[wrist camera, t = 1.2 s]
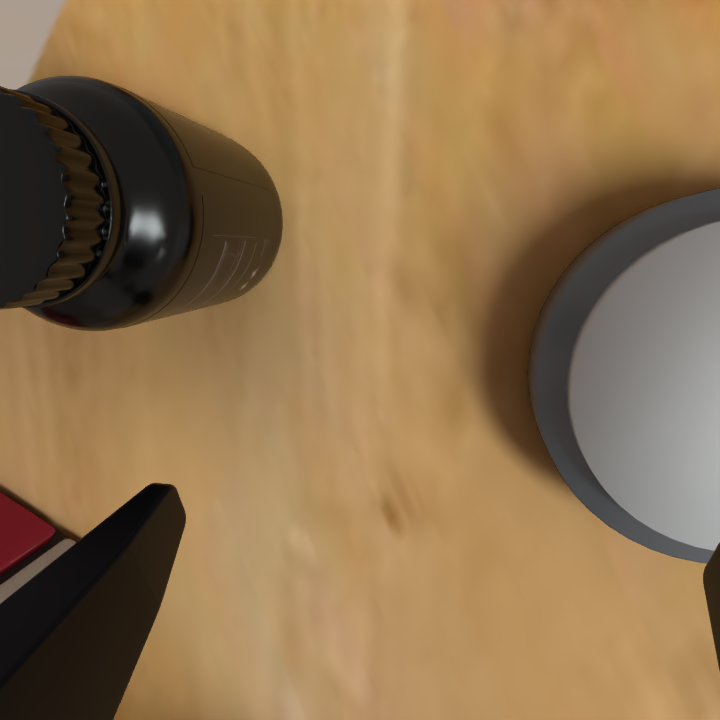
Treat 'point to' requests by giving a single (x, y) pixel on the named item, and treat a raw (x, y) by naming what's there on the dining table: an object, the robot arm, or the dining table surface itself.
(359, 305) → the dining table surface
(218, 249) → the supplement bottle
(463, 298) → the dining table surface
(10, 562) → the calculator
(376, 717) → the dining table surface
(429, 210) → the dining table surface
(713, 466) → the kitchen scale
